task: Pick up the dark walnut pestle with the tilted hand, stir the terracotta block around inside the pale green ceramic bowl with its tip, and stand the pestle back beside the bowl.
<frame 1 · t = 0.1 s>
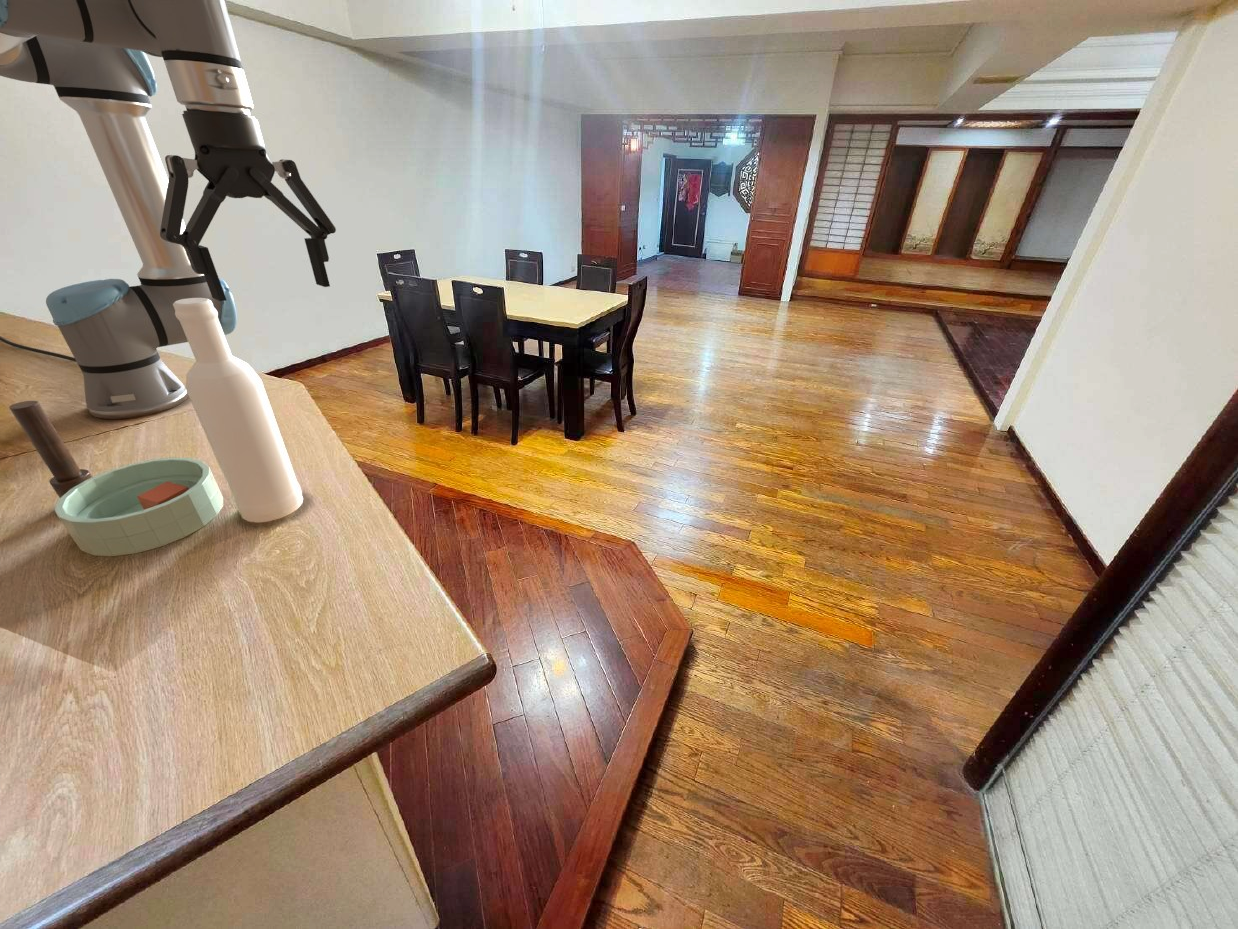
hand: (274, 292, 71), 28 cm above the counter, tool pointing down, fingers open, 13 cm apart
bottle: (274, 510, 73), on the counter
bowl: (156, 522, 69), on the counter
pestle: (87, 505, 72), on the counter
block: (175, 514, 70), point 1 cm above the counter, touching bowl
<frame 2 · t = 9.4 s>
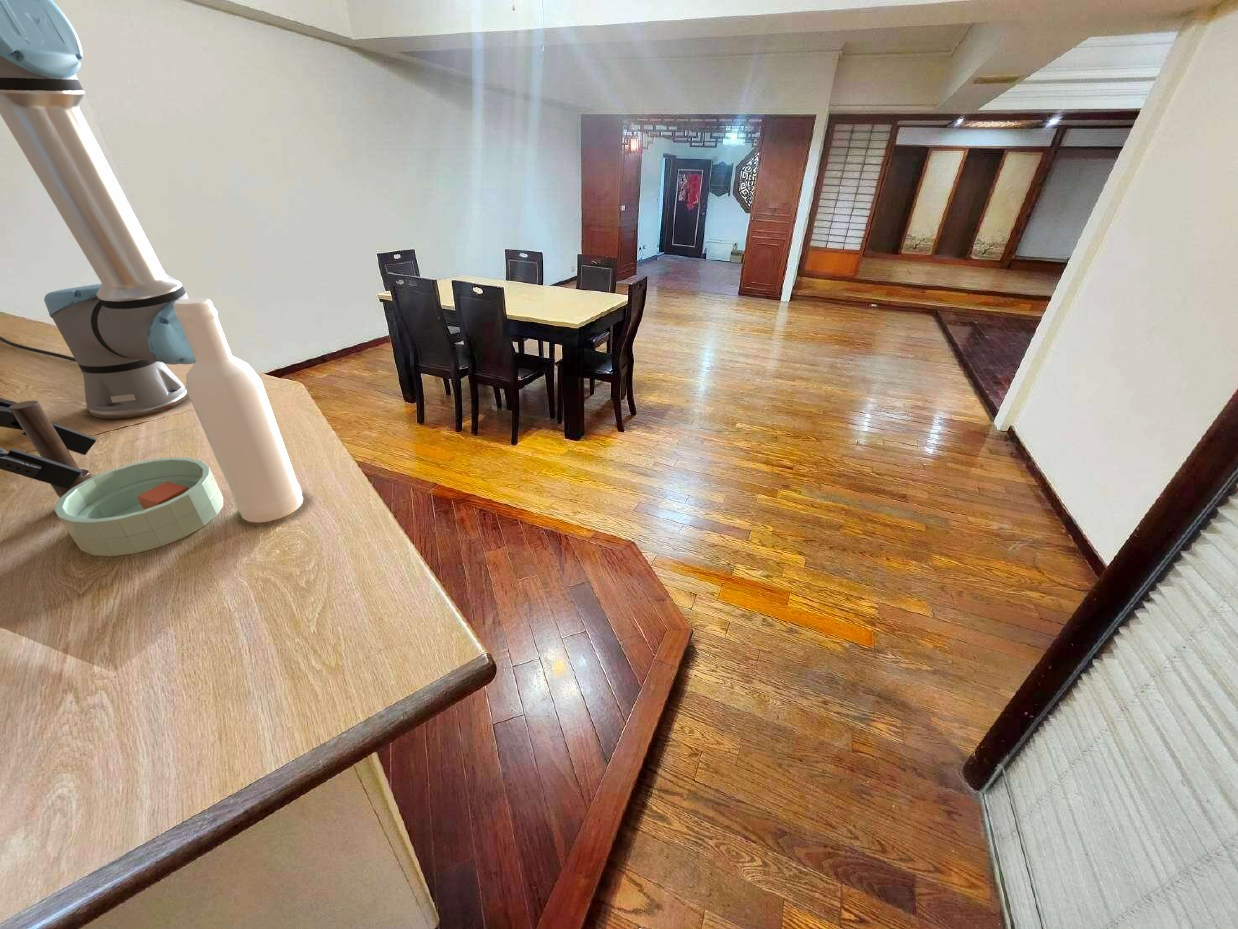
hand: (83, 462, 69), 7 cm above the counter, tool tilted 45°, fingers open, 10 cm apart
nothing on the counter moved.
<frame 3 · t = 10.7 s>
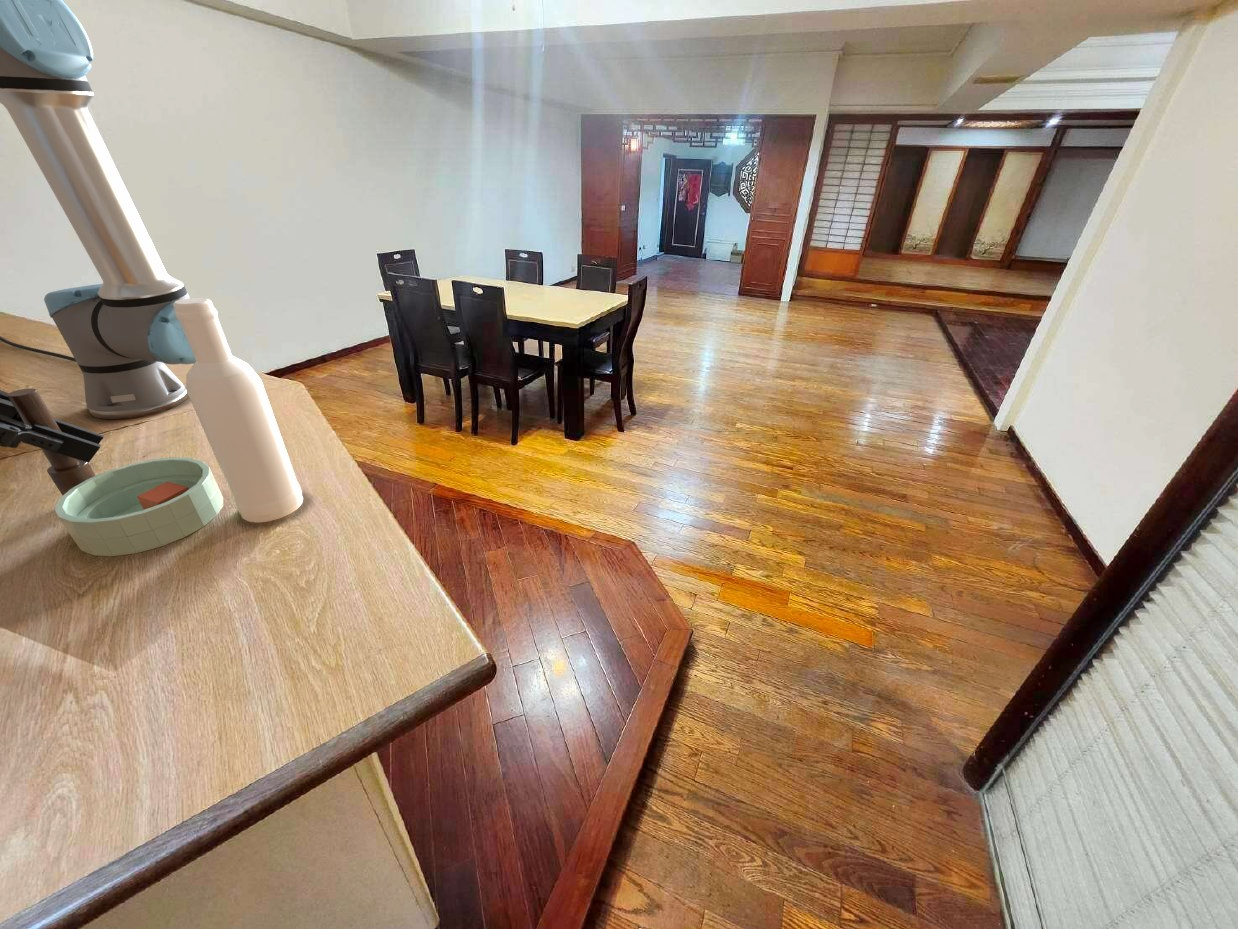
hand: (96, 448, 70), 8 cm above the counter, tool tilted 45°, fingers closed on pestle, 3 cm apart
pestle: (85, 495, 71), point 2 cm above the counter, touching gripper
everything else where it was.
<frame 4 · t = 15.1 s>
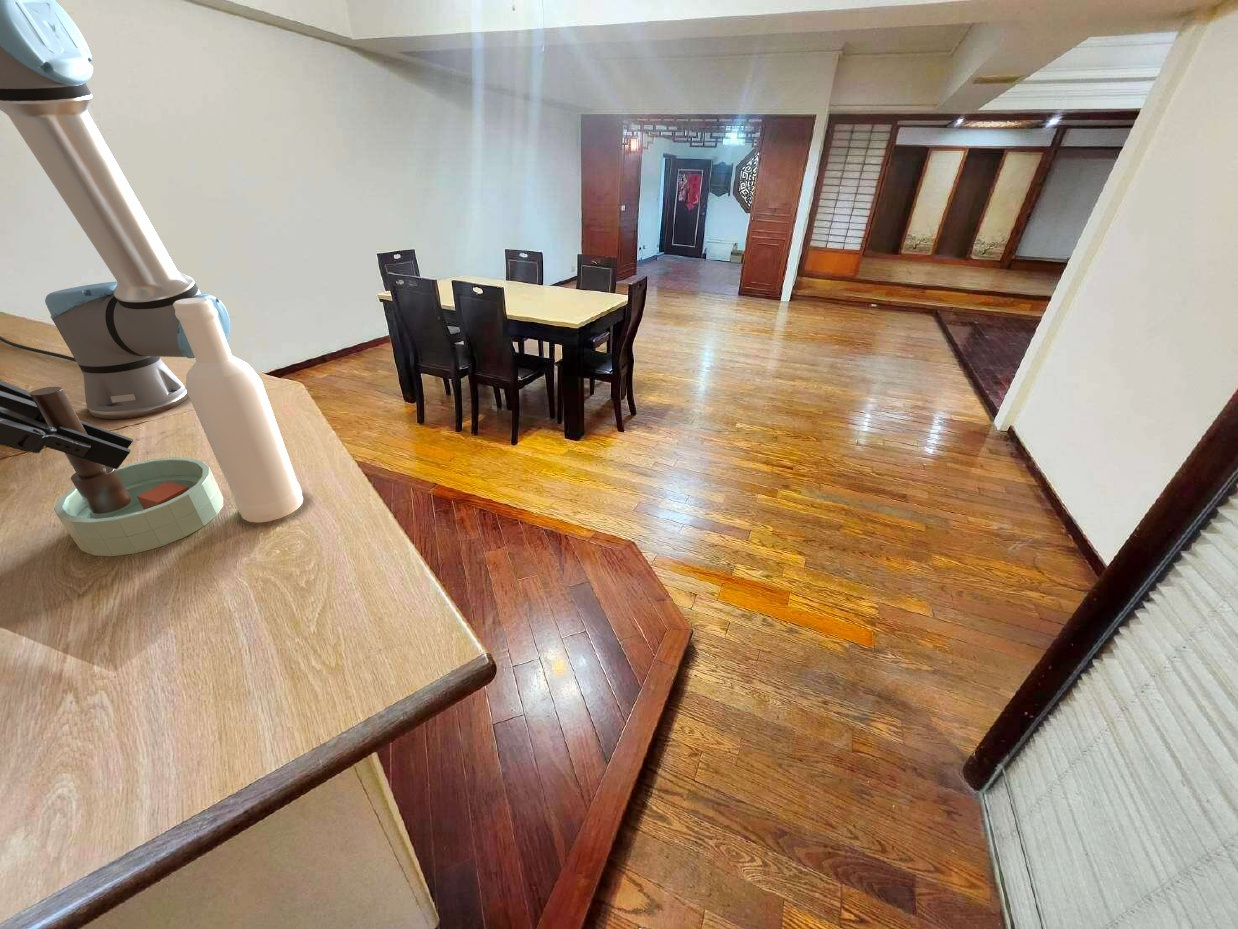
hand: (125, 453, 63), 11 cm above the counter, tool tilted 45°, fingers closed on pestle, 3 cm apart
pestle: (111, 505, 64), point 5 cm above the counter, touching gripper
everything else where it was.
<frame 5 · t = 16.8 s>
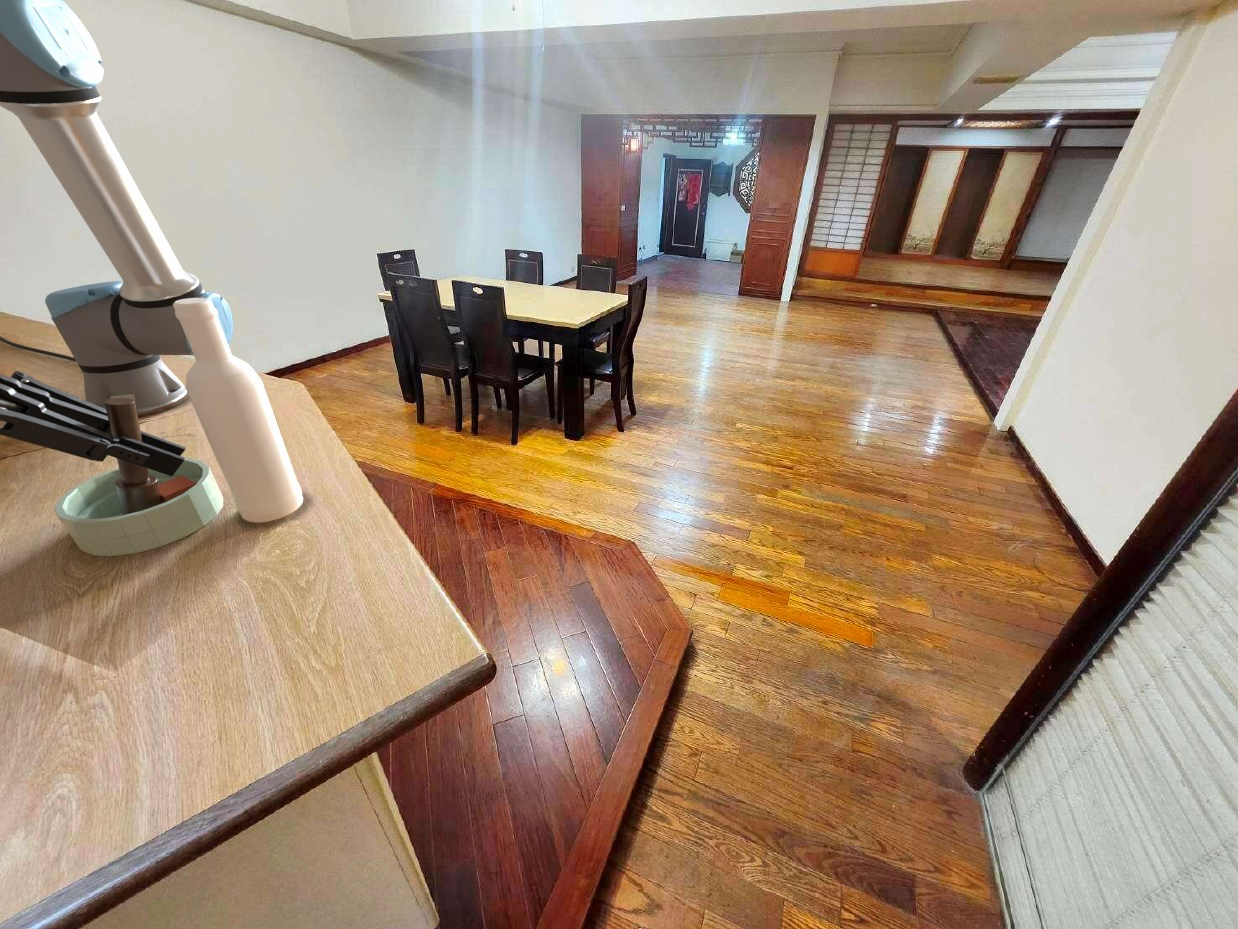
hand: (178, 461, 66), 9 cm above the counter, tool tilted 45°, fingers closed on pestle, 3 cm apart
pestle: (143, 513, 66), point 3 cm above the counter, tilted 12°, touching block, gripper
block: (184, 508, 71), point 1 cm above the counter, touching bowl, pestle
everything else where it was.
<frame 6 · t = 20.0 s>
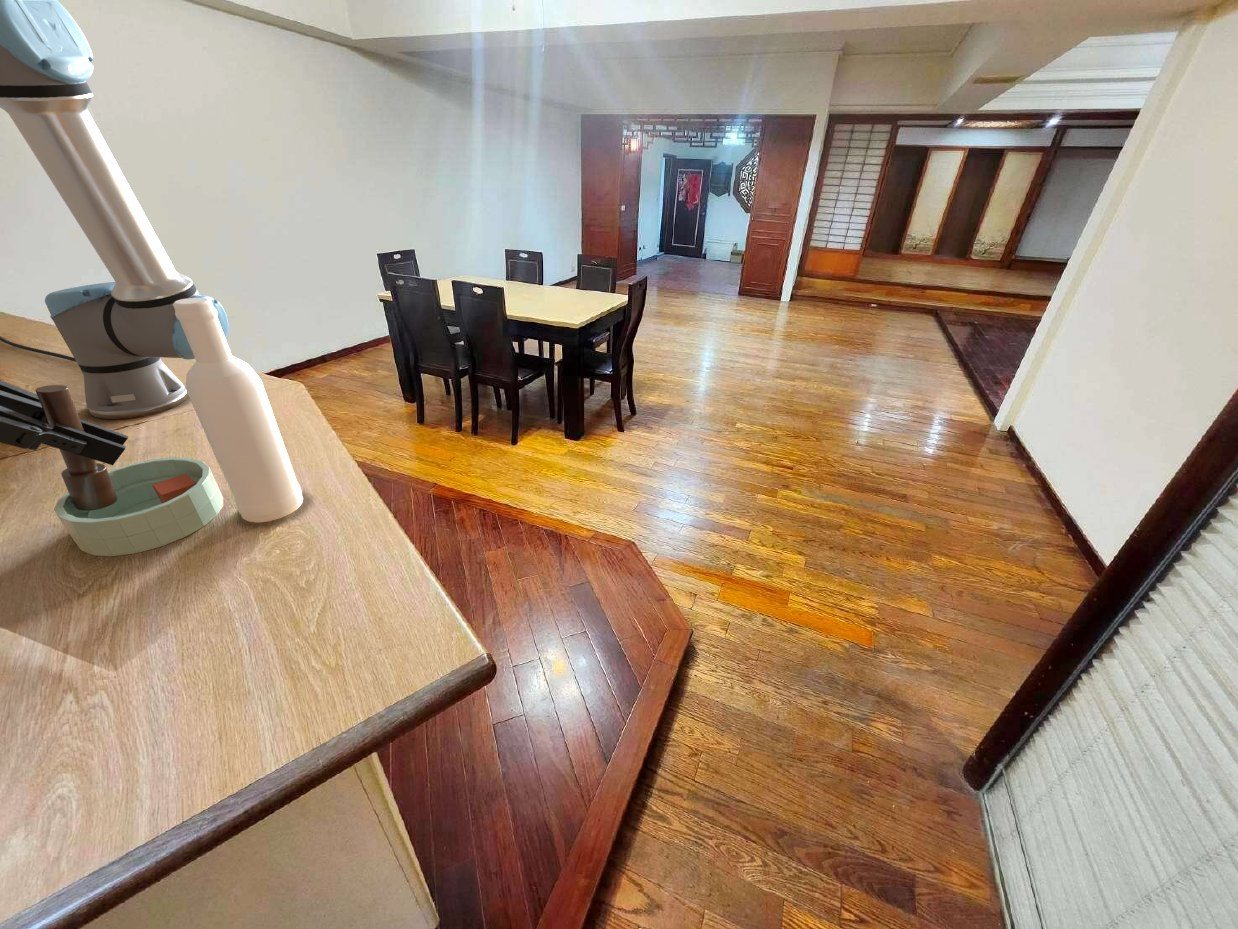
hand: (120, 450, 64), 11 cm above the counter, tool tilted 45°, fingers closed on pestle, 3 cm apart
pestle: (96, 502, 65), point 4 cm above the counter, tilted 7°, touching bowl, gripper
block: (185, 506, 71), point 1 cm above the counter, touching bowl
everything else where it was.
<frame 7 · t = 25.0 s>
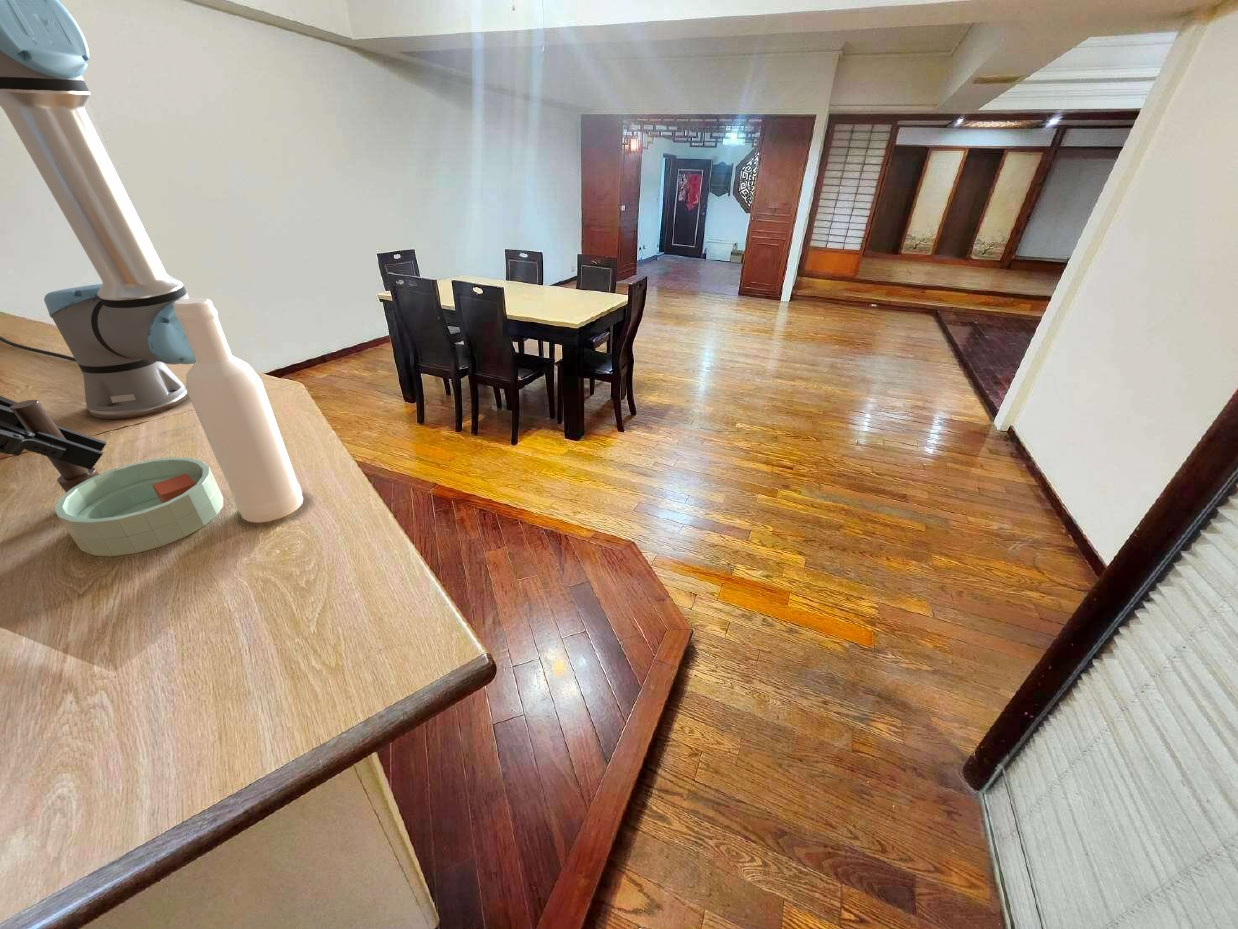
hand: (98, 455, 70), 7 cm above the counter, tool tilted 45°, fingers closed on pestle, 3 cm apart
pestle: (97, 502, 72), on the counter, touching gripper
everything else where it was.
when the fingers open (7 cm above the counter, at t = 25.0 s): pestle stays where it is, on the counter.
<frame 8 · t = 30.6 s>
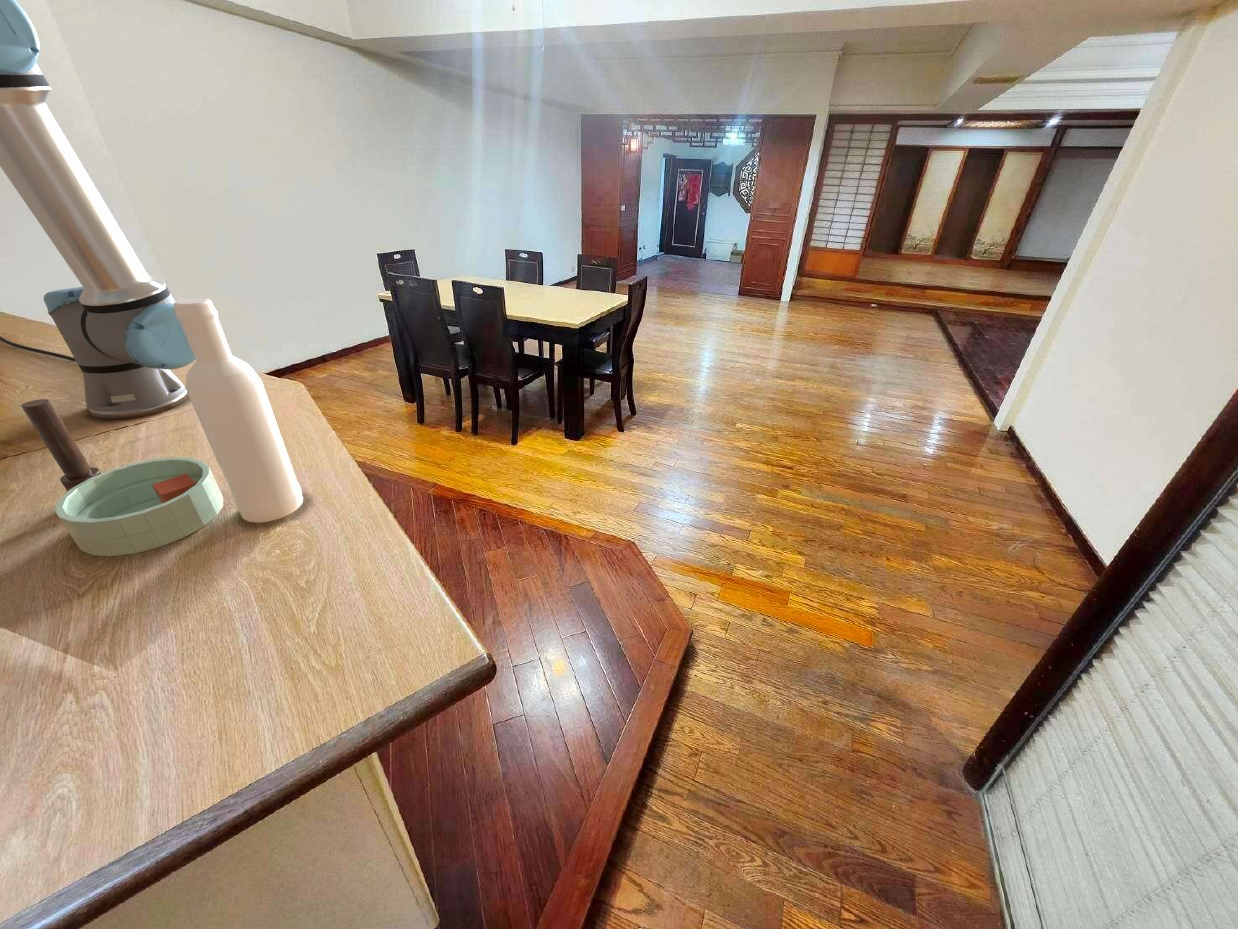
pestle: (97, 503, 72), on the counter
everything else where it was.
at the end: block inside the target area in the bowl (3.6 cm from its centre), point 0.6 cm above the bowl's base; block moved 1.9 cm from its start; pestle tilted 0° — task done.
